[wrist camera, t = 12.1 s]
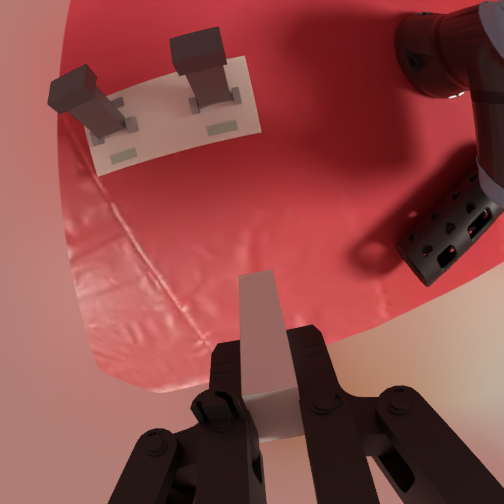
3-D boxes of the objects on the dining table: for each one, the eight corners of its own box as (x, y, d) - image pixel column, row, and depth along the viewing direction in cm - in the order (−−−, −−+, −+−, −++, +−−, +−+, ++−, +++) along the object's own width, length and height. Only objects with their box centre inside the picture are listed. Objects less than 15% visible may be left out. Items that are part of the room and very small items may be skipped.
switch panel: (258, 130, 41) (263, 133, 34) (113, 168, 42) (91, 180, 35) (243, 63, 37) (245, 52, 29) (97, 107, 38) (72, 107, 30)
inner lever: (235, 103, 32) (224, 49, 21) (197, 112, 32) (172, 62, 21) (230, 82, 32) (218, 26, 21) (194, 91, 32) (169, 39, 21)
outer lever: (128, 132, 32) (83, 85, 22) (97, 143, 33) (47, 104, 22) (127, 112, 33) (86, 64, 22) (97, 123, 33) (51, 81, 22)
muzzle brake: (384, 233, 49) (413, 260, 39) (483, 137, 41) (522, 147, 32) (408, 268, 52) (436, 298, 42) (500, 176, 44) (535, 191, 35)
